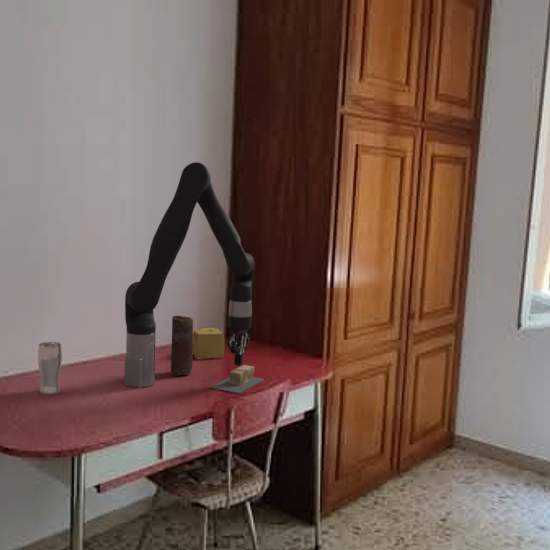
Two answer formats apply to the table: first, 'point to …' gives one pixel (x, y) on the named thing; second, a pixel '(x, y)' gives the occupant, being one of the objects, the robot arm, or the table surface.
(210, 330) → the cheese
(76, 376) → the table surface
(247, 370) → the block
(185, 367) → the brown rough cylinder
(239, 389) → the mat
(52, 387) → the beer glass
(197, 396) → the table surface
